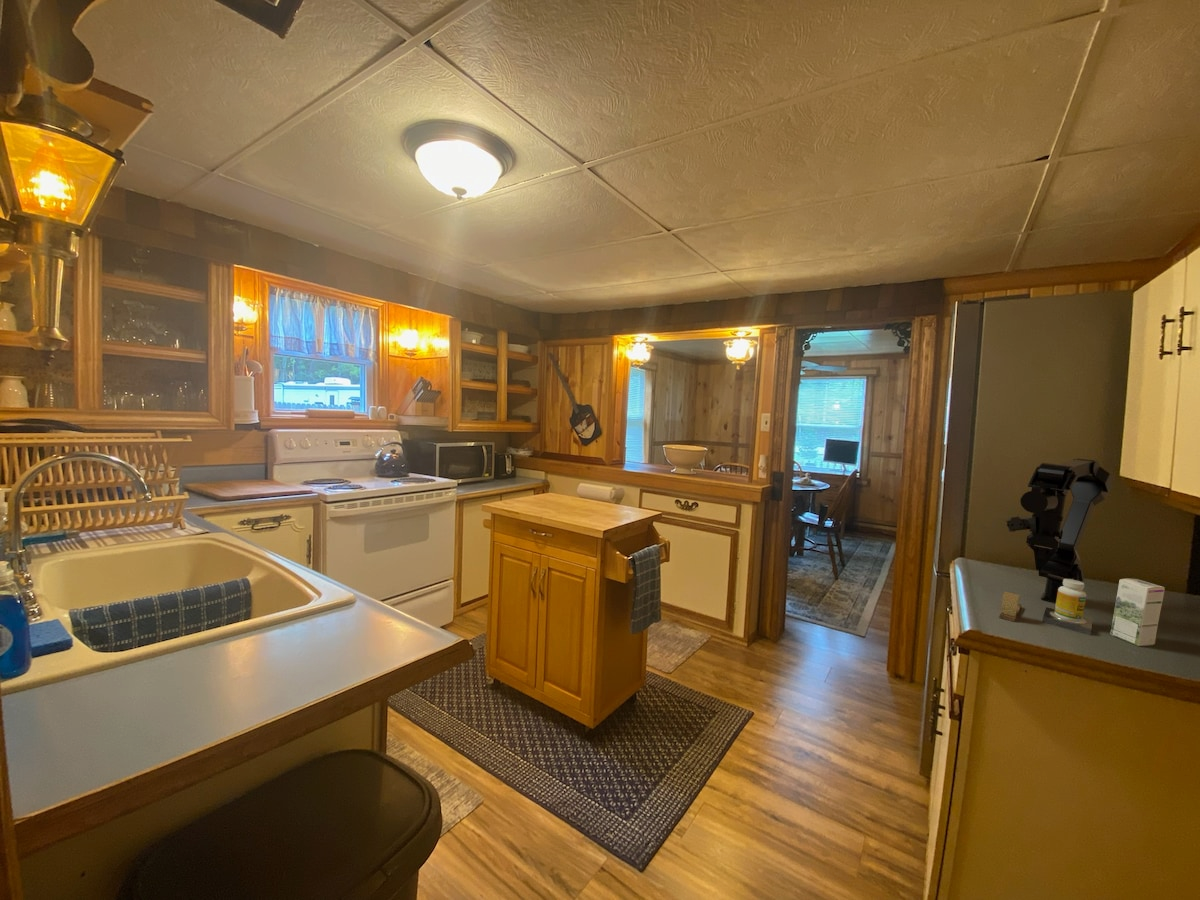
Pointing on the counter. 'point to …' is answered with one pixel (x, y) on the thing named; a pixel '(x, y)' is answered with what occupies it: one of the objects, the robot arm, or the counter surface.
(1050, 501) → the robot arm
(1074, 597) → the supplement bottle
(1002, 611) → the handle
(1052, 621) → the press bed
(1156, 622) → the syrup box
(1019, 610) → the rail
